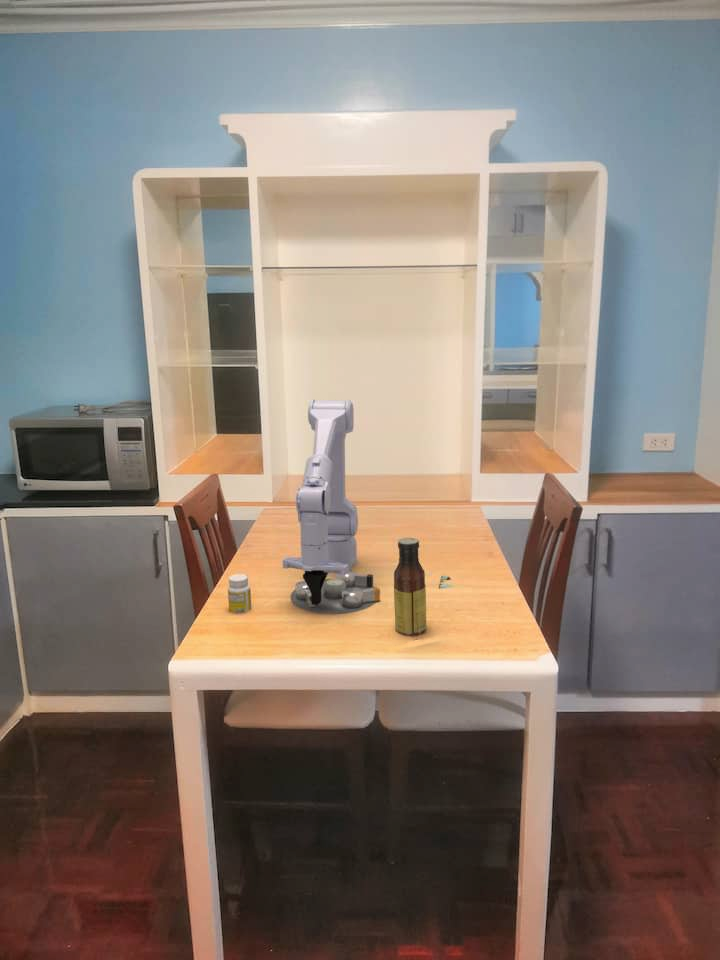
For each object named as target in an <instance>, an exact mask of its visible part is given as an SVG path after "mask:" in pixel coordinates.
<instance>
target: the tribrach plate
mask: <svg viewBox="0 0 720 960" xmlns="http://www.w3.org/2000/svg"><path fill="white" fill-rule="evenodd" d="M374 587H375V586H374V585H373V586H372V587H367V586H354V587H351V588H359V589H361V590H364V589H370V588H374ZM343 589H346V582H345V581H343V580H340V579H337V578H326V579H325V581H324V583H323V586H322V589H321V602H320V603H319V604H318V605H316V606H315V607H309V606H308V604H307V602H306V600H299V599H297V598H296V589H295V588H294V590H292V592H291V593H290V601H291V603H292V604H293V605H294V606H295V607H296V608H298V609H301V610H303V611H306V612H309V613H314V614H318V615H319V614H320V615H321V614H322V615H345V614H352V613H353V614H354V613H356V612H360V611H364V610H365V609H369V608H370V607H372V606H374V605H375V604H376V603H377V602H378V601H370V602H365V603H363V605H362V606H360V607H357V608H347V607H344V606H343V605H342V590H343Z"/></svg>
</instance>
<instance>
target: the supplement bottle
mask: <svg viewBox="0 0 720 960" xmlns="http://www.w3.org/2000/svg"><path fill="white" fill-rule="evenodd" d="M251 592H252V591H251V585H250V583H249V577H248V575H247V574H245V573H236V574H232V575H230V576H229V577H228V587H227V597H228V610H229V612H230V613H233V614H245V613H248V612H250V610H252V597H251V596H252V595H251Z"/></svg>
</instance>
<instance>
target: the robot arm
mask: <svg viewBox="0 0 720 960" xmlns="http://www.w3.org/2000/svg"><path fill="white" fill-rule="evenodd" d="M307 418H308V423H309V425H310V428H311V430H312V431H313V432H314V439H313V450H312V451H313V453H312V455H311V456H309V457H308V458H307V460H306V462H305V468H304V474H303V479H302V484H301V488H300V487H299V488H297V490H296V495H295V506H296V508H295V509H296V512H297V520H298V522H299V524H300V554H301V555H300V557H292V556H291V557H289V556H286V557H285V558H282V568H283V569H286V570H287V569H297V570H302V571H304V572H303V574H302V579H303V581H305V582H306V583H307V585H308V587H309V589H310V592H311V601H312V604H313V605H318V604H319V603H320V602H321V589H322V586H323V583H324V581H325V579H327V577H328V575H329V574H333V575H334V574H335V575H337V574H340V575H341V576H345V575H347V574H348V569H350V570H352V567H353V565H354V564H355V563H357V560H358V559H357V558H358V557H357V556H358V555H357V554H358V553H357V551H358V549H357V548H358V547H357V546H358V545H357V544H358V543H357V539H356V537H355V536H356V535H357V533H358V527H359V519H358V518H359V516H358V511H357V510H358V509H357V505H356V504H355V503H354V502H352V501H351V500H350V499H348V498H347V497H346V443H345V442H346V438H347V434H350V433H353V431H354V425H355V423H354V404H353V402H352V401H351V400H350V399H347V400H324V399H323V400H321V399H320V400H319V399H318V400H317V399H311V401H310V402H309V403H308V408H307Z"/></svg>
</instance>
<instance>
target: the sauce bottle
mask: <svg viewBox="0 0 720 960" xmlns="http://www.w3.org/2000/svg"><path fill="white" fill-rule="evenodd" d="M397 547H398V555H399V558H398V564H397V565H396V567H395V570H394V572H393V598H394V599H393V600H394V622H395V623H394V625H395V626H394V627H395V632H397V633H398V634H401V635H403V636H408V637H417V636H421V635H423V634H425V633H426V632H427V597H426V596H427V595H426V594H427V590H426V580H425V579H426V578H425V577H426V576H425V575H426V574H425V570H424V568H423V566H422V564H421V563H420V560H419V559H420V558H419V548H420V540H419V539H417V538H415V537H402V538H400V539H398V541H397ZM417 640H419V638H417V639H415V641H417Z"/></svg>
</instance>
